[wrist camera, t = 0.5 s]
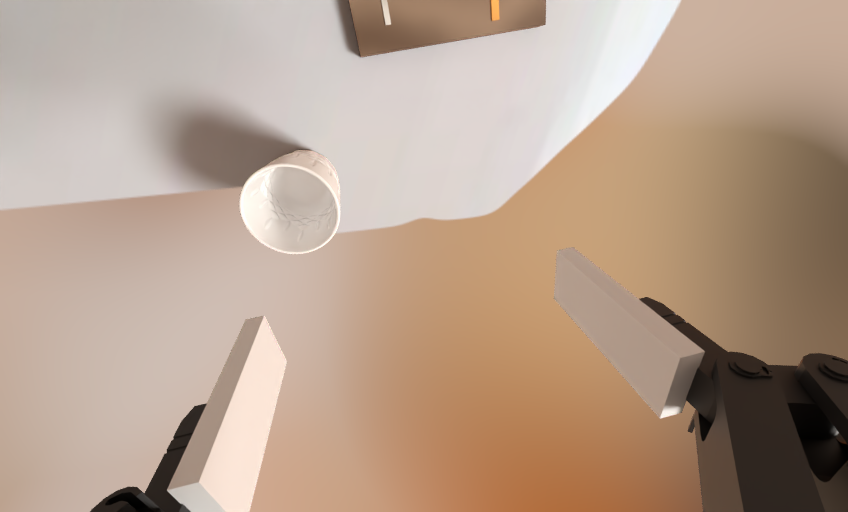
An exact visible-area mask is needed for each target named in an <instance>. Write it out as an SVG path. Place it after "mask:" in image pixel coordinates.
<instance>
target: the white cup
mask: <svg viewBox="0 0 848 512" xmlns="http://www.w3.org/2000/svg"><path fill="white" fill-rule="evenodd" d="M239 208H240V214H241V217H242V220H243V222H244V224H245V226H246V228H247V229H248V231H249V232H250V233H251V234H252V235H253V236H254V237H255V238H256V239H257V240H258V241H259V242H261V243H262V244H263V245H265V246H267V247H269V248H271V249H273V250H276V251H279V252H282V253H288V254H302V253H308V252H311V251H314V250H317V249H319V248H320V247H322V246H323V245H325V244H326V243H327V242H328V241H329V240H330V239H331V238H332V237H333V235H334V234H335V232H336V230H337V228H338V225H339V220H340V185H339V179H338V176H337V172H336V169H335V168H334V166H333V165H332V164H331V163H330V162H329V160H328V159H327V158H326V157H324V156H322V155H320V154H318V153H316V152H314V151H310V150H296V151H293V152H291V153H289V154H286V155H283V156H281V157H279V158H277V159H275V160H273V161H272V162H270V163H269V164H267V165H266V166H264V167H263V168H261V169H259V170H258V171H256V172H255V173H254V174H252V175H251V176H250V177H249V178H248V180H247V181H246V182H245V184H244V186H243V188H242V190H241V193H240V198H239Z"/></svg>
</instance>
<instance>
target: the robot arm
mask: <svg viewBox="0 0 848 512" xmlns="http://www.w3.org/2000/svg"><path fill="white" fill-rule="evenodd" d="M554 299H555V300H556V302H557V303H558V304H559V305H560V306H561V307H562V308H563V309H564V310H565V312H566V313H567V314H568V315H569V316H570V317H571V319H572V320H573V321H574V322H575V323H576V324H577V325H578V326H579V328H580V329H581V330H582V331H583V332H584V333H585V334H586V335H587V337H588V338H589V339H590V340H591V341H592V342H593V343H594V345H595V346H596V347H597V348H598V349H599V350H600V351H601V352H602V354H603V355H604V356H605V357H606V358H607V359H608V360H609V361H610V363H611V364H612V365H613V366H614V367H615V368H616V369H617V370H618V372H619V373H620V374H621V375H622V376H623V377H624V378H625V379H626V381H627V382H628V383H629V384H630V385H631V386H632V387H633V389H634V390H635V391H636V392H637V393H638V394H639V395H640V397H641V398H642V399H643V400H644V401H645V402H646V403H647V404H648V406H649V407H650V408H651V409H652V410H653V411H654V412H655V413H656V415H657V416H658V417H659V418H664V417H667V416H671V415H675V414H678V413H682V411H683V408H684V405H685V402H686V400H687V401H688V402H689V403H690V404H691V405H692V406H693V407H694V408H695V409H696V410H695V413H694V415H693V417H692V420H691V422H690V425H689V428H688V432H691V433H692V432H693V429H694V427H695V434H696V444H697V454H698V465H699V474H700V484H701V495H702V505H703V512H848V361H847V360H844V359H842V358H838V357H836V356H832V355H826V354H820V353H818V354H808V355H806V356H804V357H803V359H802V360H801V362H800V364H799V365H798V366H781V365H767V364H766V363H764V362H763V361H761V360H759V359H757V358H755V357H753V356H750V355H747V354H744V353H738V352H727V351H726V350H724V349H723V348H721V347H720V346H719V345H717V344H716V343H715V342H713V341H712V340H711V339H709V338H708V337H707V336H705V335H704V334H703V333H701V332H700V331H699V330H697V329H696V328H695V327H693V326H692V325H691V324H689V323H686V322H685V320H684V319H682V318H681V317H680V316H678V315H675V313H674V312H673V311H671V310H670V309H669V308H668V307H666V306H665V305H664V304H662V303H660V302H657V301H655V300H653V299H650V298H648V297H645V298H641V299H638V298H637V297H635V296H634V295H633V294H632V293H630V292H629V291H628V290H626V289H625V288H624V287H623V286H621V285H620V284H619V283H618V282H616V281H615V280H614V279H613V278H611V277H610V276H609V275H607V274H606V273H605V272H604V271H602V270H601V269H600V268H599V267H597V266H596V265H595V264H594V263H592V262H591V261H590V260H588V259H587V258H586V257H585V256H583V255H582V254H581V253H580V252H578V251H577V250H576V249H575V248H573V247H571V248H566V249H562V250H557V259H556V276H555V292H554ZM286 363H287V361H286V359H285V357H284V354H283V353H282V350H281V349H280V346H279V344H278V342H277V340H276V339H275V336H274V334H273V332H272V330H271V328H270V326H269V324H268V322H267V320H266V318H265V316H260V317H255V318H251V319H246V320H245V322H244V324H243V327H242V329H241V331H240V333H239V335H238V337H237V340H236V342H235V344H234V346H233V348H232V350H231V353H230V355H229V357H228V359H227V361H226V364H225V365H224V368H223V370H222V372H221V374H220V376H219V378H218V381H217V383H216V385H215V387H214V389H213V391H212V394H211V396H210V398H209V400H208V402H207V404H202V405H198V406H194V408H193V409H192V410H191V411H190V412H189V414H188V415H187V416H186V417H185V418H184V419H183V420H182V422H181V423H180V425H179V427H178V429H177V431H176V433H175V435H174V439H173V440H172V441H171V443H170V445H169V447H168V449H167V453H166V454H164V457H163V459H162V460H161V462H160V464H159V466H158V468H157V470H156V472H155V474H154V476H153V478H152V480H151V482H150V484H149V486H148V488H147V490H146V492H145V494H144V493H143V492H142V491H141V490H140V489H139V488H137V487H126V488H123V489H120V490H118V491H116V492H114V493H113V494H111V495H109V496H108V497H106V498H105V499H103V500H102V501H101V502H100V503H99V504H98V505H96V506H95V507H94V508H93V509H92V510H91V511H90V512H249V511H250V507H251V503H252V499H253V495H254V491H255V487H256V483H257V479H258V475H259V471H260V467H261V463H262V459H263V455H264V451H265V447H266V443H267V439H268V435H269V431H270V427H271V423H272V419H273V415H274V411H275V407H276V403H277V398H278V395H279V391H280V387H281V383H282V379H283V375H284V371H285V367H286Z"/></svg>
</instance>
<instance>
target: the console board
mask: <svg viewBox="0 0 848 512" xmlns="http://www.w3.org/2000/svg"><path fill="white" fill-rule="evenodd" d="M349 4H350V9H351V14H352V18H353V23H354V28H355V32H356V37H357V42H358V47H359V51H360V56H361V57H366V56H372V55H378V54H383V53H389V52H395V51H401V50H407V49H413V48H418V47H424V46H430V45H436V44H442V43H447V42H453V41H459V40H465V39H471V38H476V37H482V36H488V35H494V34H500V33H506V32H511V31H517V30H523V29H529V28H535V27H539V26H542V25H545V22H546V0H349Z"/></svg>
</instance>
